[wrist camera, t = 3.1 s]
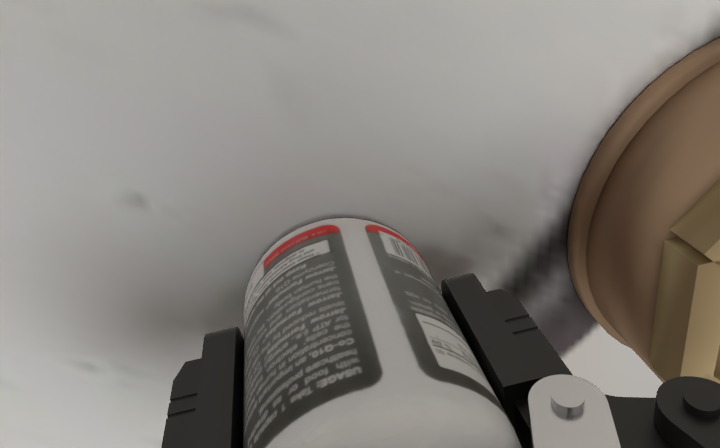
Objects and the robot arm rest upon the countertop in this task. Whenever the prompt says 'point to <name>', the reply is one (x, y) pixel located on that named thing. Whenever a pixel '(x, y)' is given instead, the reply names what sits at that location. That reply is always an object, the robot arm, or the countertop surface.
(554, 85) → the countertop surface
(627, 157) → the octagonal tan dish
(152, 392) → the countertop surface
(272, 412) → the pill bottle
